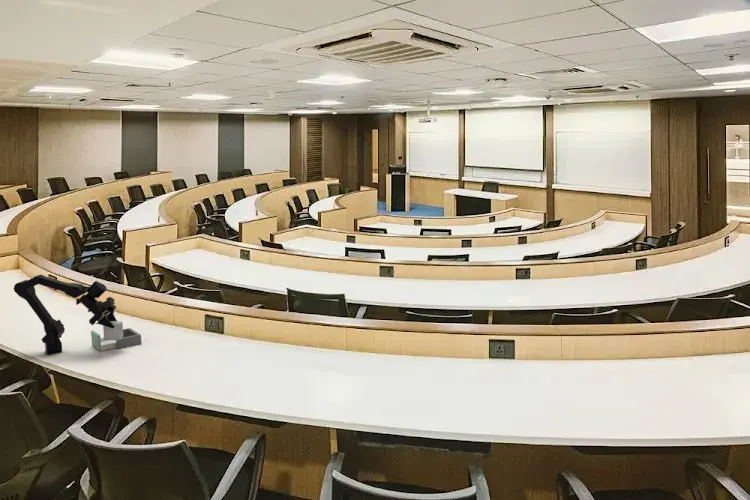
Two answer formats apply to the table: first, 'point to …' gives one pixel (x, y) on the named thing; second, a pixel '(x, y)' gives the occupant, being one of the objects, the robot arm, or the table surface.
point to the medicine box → (114, 331)
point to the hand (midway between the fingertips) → (115, 326)
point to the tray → (101, 342)
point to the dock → (129, 339)
